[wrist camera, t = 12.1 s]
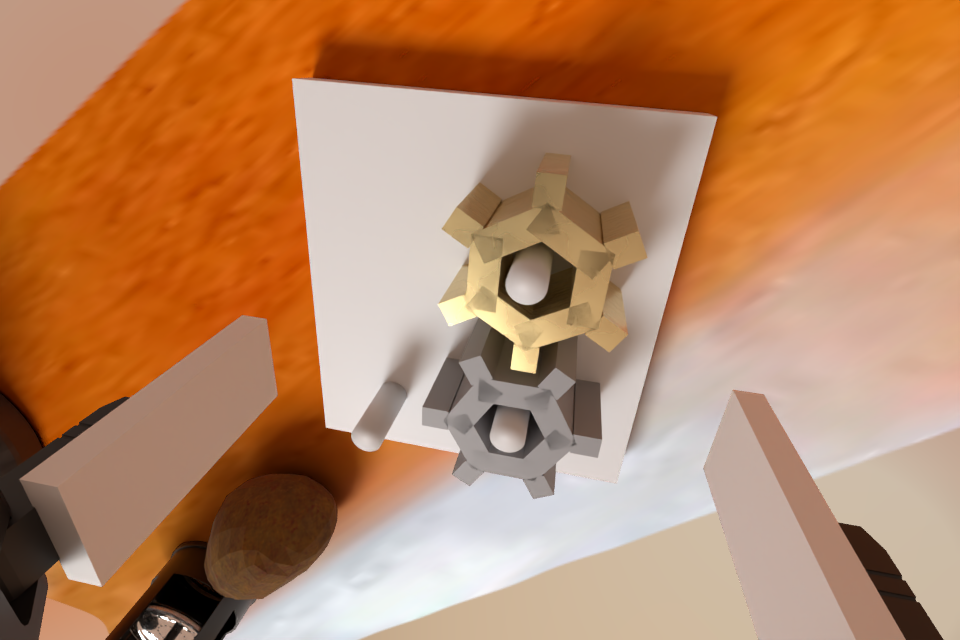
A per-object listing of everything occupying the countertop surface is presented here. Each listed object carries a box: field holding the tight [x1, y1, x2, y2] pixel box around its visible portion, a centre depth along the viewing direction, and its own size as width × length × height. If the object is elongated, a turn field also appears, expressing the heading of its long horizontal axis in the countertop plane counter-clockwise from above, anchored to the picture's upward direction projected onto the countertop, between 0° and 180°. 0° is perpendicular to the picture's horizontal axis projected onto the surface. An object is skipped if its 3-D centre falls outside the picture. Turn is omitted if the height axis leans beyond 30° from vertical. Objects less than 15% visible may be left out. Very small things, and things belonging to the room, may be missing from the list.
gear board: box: [292, 78, 717, 499], centre depth 26 cm, size 20×22×8 cm
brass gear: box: [438, 153, 648, 374], centre depth 23 cm, size 9×9×5 cm
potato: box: [204, 474, 337, 600], centre depth 38 cm, size 8×12×9 cm
